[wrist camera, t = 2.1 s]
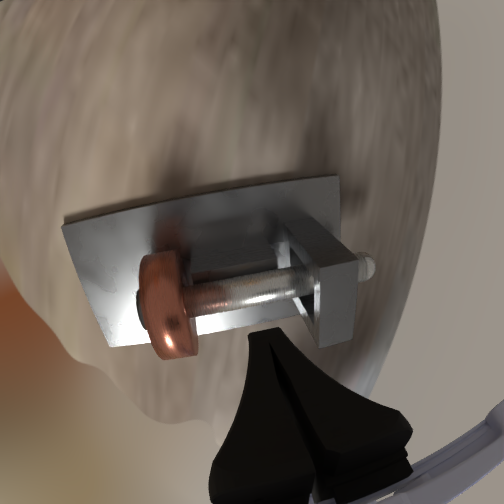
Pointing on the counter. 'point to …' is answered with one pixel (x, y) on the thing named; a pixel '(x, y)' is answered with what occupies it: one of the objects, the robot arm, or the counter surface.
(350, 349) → the counter surface
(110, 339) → the eye bracket
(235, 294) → the hammer
